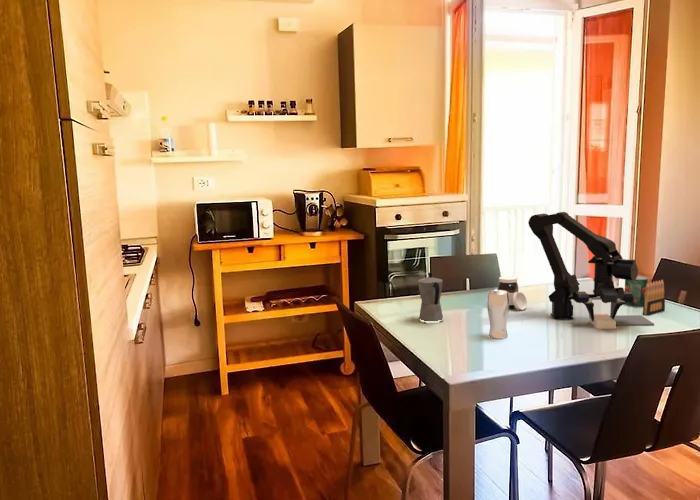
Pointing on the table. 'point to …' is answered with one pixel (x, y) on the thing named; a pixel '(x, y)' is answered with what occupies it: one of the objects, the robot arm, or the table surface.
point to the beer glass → (498, 313)
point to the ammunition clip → (654, 298)
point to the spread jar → (512, 292)
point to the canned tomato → (636, 290)
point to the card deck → (603, 321)
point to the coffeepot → (430, 298)
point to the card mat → (632, 320)
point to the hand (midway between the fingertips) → (602, 321)
